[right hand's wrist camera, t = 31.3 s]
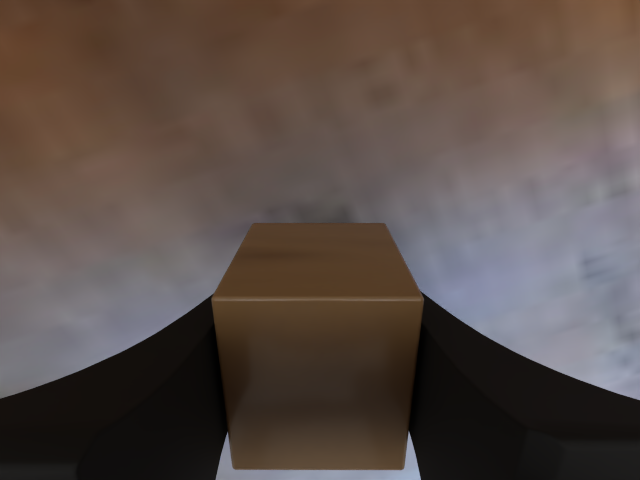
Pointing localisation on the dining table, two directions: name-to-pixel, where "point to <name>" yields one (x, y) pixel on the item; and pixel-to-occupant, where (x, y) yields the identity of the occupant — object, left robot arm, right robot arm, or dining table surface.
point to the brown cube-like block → (318, 347)
